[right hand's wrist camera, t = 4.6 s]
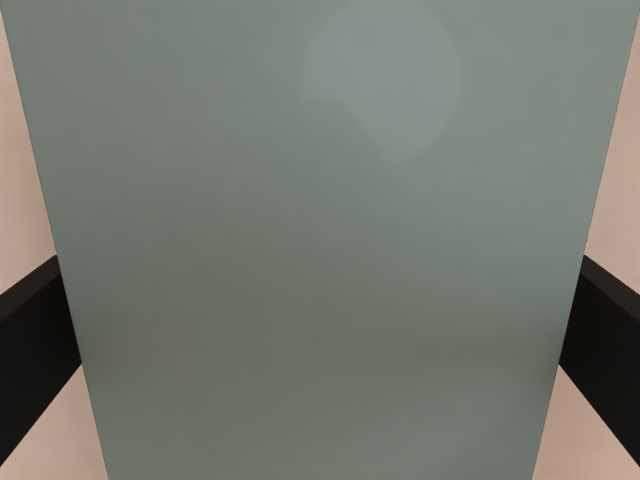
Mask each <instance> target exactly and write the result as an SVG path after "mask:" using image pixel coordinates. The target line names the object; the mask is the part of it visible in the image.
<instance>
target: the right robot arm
mask: <svg viewBox="0 0 640 480" xmlns="http://www.w3.org/2000/svg"><path fill="white" fill-rule="evenodd" d="M81 364H82V361H81V357H80V352H79V348H78V344H77V339H76V335H75V331H74V326H73V322H72V318H71V313H70V309H69V305H68V300H67V296H66V292H65V287H64V283H63V279H62V274H61V270H60V266H59V261H58V257H57V255H54V256H53V257H51V258H50V259H49V260H47V261H46V262H45V263H43V264H42V265H40V266H39V267H38V268H36V269H35V270H34V271H32V272H31V273H30V274H28V275H27V276H25V277H24V278H23V279H21V280H20V281H19V282H17V283H16V284H15V285H13V286H12V287H11V288H9V289H8V290H6V291H5V292H4V293H2V294H1V295H0V467H1V466H2V464H3V463H4V462H5V461H6V459H7V458H8V457H9V455H10V454H11V453H12V452H13V450H14V449H15V448H16V447H17V445H18V444H19V443H20V441H21V440H22V439H23V438H24V436H25V435H26V434H27V433H28V431H29V430H30V429H31V427H32V426H33V425H34V424H35V422H36V421H37V420H38V419H39V417H40V416H41V415H42V413H43V412H44V411H45V410H46V408H47V407H48V406H49V404H50V403H51V402H52V401H53V399H54V398H55V397H56V396H57V394H58V393H59V392H60V390H61V389H62V388H63V387H64V385H65V384H66V383H67V382H68V380H69V379H70V378H71V376H72V375H73V374H74V373H75V371H76V370H77V369H78V368H79V366H80V365H81ZM558 364H559V365H560V366H561V368H562V369H563V370H564V371H565V373H566V374H567V375H568V376H569V378H570V379H571V380H572V382H573V383H574V384H575V385H576V387H577V388H578V389H579V390H580V392H581V393H582V394H583V396H584V397H585V398H586V399H587V401H588V402H589V403H590V404H591V406H592V407H593V408H594V410H595V411H596V412H597V413H598V415H599V416H600V417H601V419H602V420H603V421H604V422H605V424H606V425H607V426H608V427H609V429H610V430H611V431H612V433H613V434H614V435H615V436H616V438H617V439H618V440H619V441H620V443H621V444H622V445H623V447H624V448H625V449H626V450H627V452H628V453H629V454H630V455H631V457H632V458H633V459H634V461H635V462H636V463H637V464H638V466H639V467H640V295H639V294H638V293H636V292H635V291H634V290H632V289H631V288H629V287H628V286H627V285H625V284H624V283H623V282H621V281H620V280H619V279H617V278H616V277H615V276H613V275H612V274H610V273H609V272H608V271H606V270H605V269H604V268H602V267H601V266H600V265H598V264H597V263H595V262H594V261H593V260H591V259H590V258H589V257H587V256H586V255H583V259H582V263H581V268H580V272H579V276H578V281H577V285H576V289H575V294H574V298H573V302H572V307H571V311H570V315H569V320H568V324H567V328H566V333H565V337H564V341H563V346H562V350H561V354H560V359H559V363H558Z"/></svg>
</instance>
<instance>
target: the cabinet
mask: <svg viewBox="0 0 640 480" xmlns="http://www.w3.org/2000/svg"><path fill="white" fill-rule="evenodd" d="M0 9H1V13H2V18H3V22H4V26H5V31H6V35H7V39H8V44H9V48H10V52H11V57H12V61H13V66H14V70H15V74H16V79H17V83H18V87H19V92H20V96H21V100H22V105H23V109H24V113H25V118H26V122H27V126H28V131H29V135H30V139H31V144H32V148H33V152H34V157H35V161H36V166H37V170H38V174H39V179H40V183H41V187H42V192H43V196H44V200H45V205H46V209H47V213H48V218H49V222H50V226H51V231H52V235H53V239H54V244H55V248H56V252H57V257H58V261H59V266H60V270H61V274H62V279H63V283H64V287H65V292H66V296H67V300H68V305H69V309H70V313H71V318H72V322H73V326H74V331H75V335H76V339H77V344H78V348H79V352H80V357H81V361H82V366H83V370H84V374H85V379H86V383H87V387H88V392H89V396H90V400H91V405H92V409H93V413H94V418H95V422H96V426H97V431H98V435H99V439H100V444H101V448H102V452H103V457H104V461H105V466H106V470H107V474H108V479H109V480H532V476H533V472H534V467H535V463H536V459H537V454H538V450H539V446H540V441H541V437H542V432H543V428H544V424H545V419H546V415H547V411H548V406H549V402H550V398H551V393H552V389H553V385H554V380H555V376H556V372H557V367H558V363H559V359H560V354H561V350H562V346H563V341H564V337H565V333H566V328H567V324H568V320H569V315H570V311H571V307H572V302H573V298H574V294H575V289H576V285H577V281H578V276H579V272H580V268H581V263H582V259H583V255H584V250H585V246H586V242H587V237H588V233H589V229H590V224H591V220H592V215H593V211H594V207H595V202H596V198H597V194H598V189H599V185H600V181H601V176H602V172H603V168H604V163H605V159H606V155H607V150H608V146H609V142H610V137H611V133H612V129H613V124H614V120H615V116H616V111H617V107H618V103H619V98H620V94H621V90H622V85H623V81H624V77H625V72H626V68H627V64H628V59H629V55H630V51H631V46H632V42H633V38H634V33H635V29H636V25H637V20H638V16H639V12H640V0H0Z"/></svg>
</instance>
